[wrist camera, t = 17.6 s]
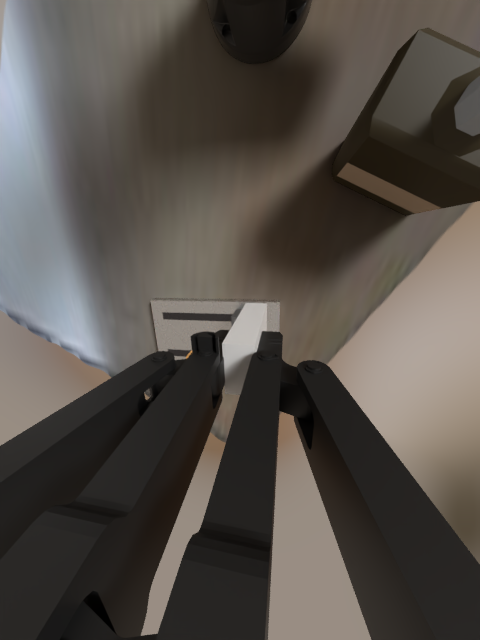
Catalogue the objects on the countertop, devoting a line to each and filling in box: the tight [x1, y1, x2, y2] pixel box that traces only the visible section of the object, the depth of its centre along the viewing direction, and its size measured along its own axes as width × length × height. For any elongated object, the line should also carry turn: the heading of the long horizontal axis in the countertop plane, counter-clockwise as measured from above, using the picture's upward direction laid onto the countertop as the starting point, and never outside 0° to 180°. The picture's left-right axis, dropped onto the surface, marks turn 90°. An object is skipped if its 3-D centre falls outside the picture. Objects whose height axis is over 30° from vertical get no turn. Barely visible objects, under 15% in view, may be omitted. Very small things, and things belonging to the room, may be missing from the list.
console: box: [151, 298, 280, 360], centre depth 52 cm, size 15×28×2 cm, turn 91°
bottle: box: [332, 28, 480, 215], centre depth 27 cm, size 8×16×25 cm, turn 65°
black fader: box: [231, 309, 242, 326], centre depth 46 cm, size 4×3×5 cm
